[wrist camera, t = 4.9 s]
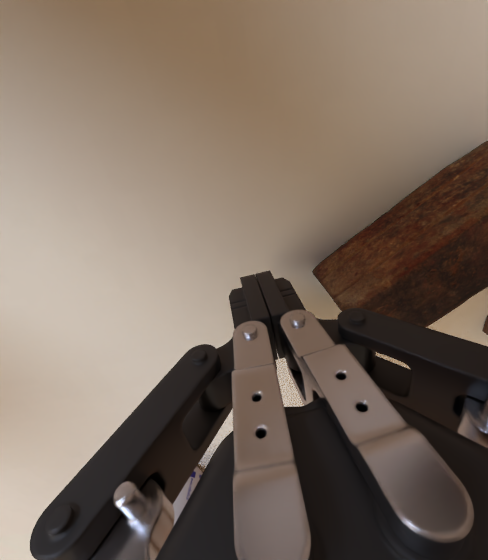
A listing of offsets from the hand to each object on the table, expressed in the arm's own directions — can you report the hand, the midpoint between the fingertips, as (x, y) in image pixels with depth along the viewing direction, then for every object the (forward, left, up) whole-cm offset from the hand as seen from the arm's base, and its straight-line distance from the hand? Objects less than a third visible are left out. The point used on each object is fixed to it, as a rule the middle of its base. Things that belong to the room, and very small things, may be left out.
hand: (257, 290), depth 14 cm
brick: (+9, 0, -2) cm, 9 cm away
